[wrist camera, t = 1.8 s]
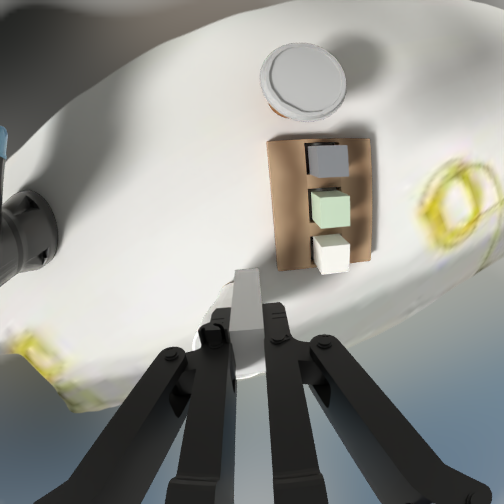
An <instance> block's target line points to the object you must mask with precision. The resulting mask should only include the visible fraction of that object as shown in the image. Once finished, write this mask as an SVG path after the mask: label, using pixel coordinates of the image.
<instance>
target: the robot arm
mask: <svg viewBox="0 0 504 504" xmlns="http://www.w3.org/2000/svg"><path fill="white" fill-rule="evenodd" d="M7 139H8V134H7V131H6V129H5V128H4V127H3V126H1V125H0V287H1V286H2V285H3V284H4V283H6V282H7V281H8V280H10V279H11V278H12V277H13V276H15V275H16V274H18V273H22V272H28V271H33V270H38V269H40V268H42V267H43V266H45V265H46V264H48V263H49V262H50V261H51V260H52V258H53V257H54V255H55V252H56V249H57V243H58V232H57V225H56V221H55V218H54V215H53V212H52V210H51V208H50V206H49V205H48V203H47V202H46V201H45V199H44V198H43V197H42V196H40V195H39V194H38V193H36V192H34V191H29V190H26V191H22V192H19V193H16V194H14V195H13V196H11V197H10V198H9V199H8V200H7V201H6V202H5V203H4V204H3V205H2V194H3V179H4V168H5V160H6V159H7V157H6V147H7ZM198 334H199V338H200V342H201V348H199V349H197V350H194V351H191V352H187V353H185V351H184V350H183V349H182V348H179V347H169V348H166V349H164V350H162V351H161V352H160V353H159V354H158V356H157V357H156V358H155V360H154V361H153V362H152V364H151V365H150V367H149V368H148V369H147V371H146V372H145V373H144V375H143V376H142V377H141V379H140V380H139V382H138V383H137V384H136V386H135V387H134V388H133V390H132V391H131V392H130V394H129V395H128V397H127V398H126V399H125V401H124V402H123V403H122V405H121V406H120V408H119V409H118V410H117V412H116V413H115V415H114V416H113V417H112V419H111V420H110V422H109V423H108V424H107V426H106V427H105V428H104V430H103V431H102V433H101V434H100V436H99V437H98V438H97V440H96V441H95V442H94V444H93V445H92V447H91V448H90V450H89V451H88V452H87V454H86V455H85V457H84V458H83V460H82V461H81V462H80V464H79V465H78V467H77V468H76V470H75V471H74V473H73V474H72V475H71V477H70V478H69V480H67V481H66V482H64V483H63V484H61V485H60V486H59V487H57V488H56V489H54V490H53V491H51V492H50V493H48V494H46V495H45V496H44V497H42V498H40V499H39V500H37V501H36V502H34V504H141V502H142V500H143V498H144V497H145V494H146V493H147V491H148V489H149V487H150V485H151V483H152V482H153V480H154V478H155V476H156V474H157V472H158V470H159V468H160V466H161V464H162V463H163V461H164V459H165V457H166V455H167V453H168V451H169V449H170V447H171V445H172V443H173V441H174V439H175V438H176V436H177V433H178V432H179V429H180V428H181V426H182V424H183V422H184V420H185V418H186V416H187V420H186V424H185V430H184V435H183V441H182V447H181V452H180V459H179V464H178V470H177V474H176V477H174V478H172V479H171V480H170V481H169V484H168V488H167V494H166V499H165V504H234V466H235V429H236V426H235V425H236V397H237V380H236V373H237V375H238V374H254V373H266V378H267V394H268V408H269V421H270V438H271V453H272V467H273V489H274V504H328V498H327V493H326V487H325V482H324V478H323V475H322V474H321V473H320V470H319V466H318V460H317V455H316V450H315V444H314V439H313V434H312V429H311V423H310V419H309V414H308V408H307V403H306V398H305V394H304V388H303V384H308V385H309V388H310V389H311V391H312V393H313V395H314V396H315V397H316V399H317V401H318V403H319V404H320V406H321V408H322V409H323V411H324V413H325V414H326V416H327V418H328V419H329V421H330V423H331V424H332V426H333V427H334V429H335V431H336V432H337V434H338V435H339V437H340V439H341V440H342V442H343V444H344V445H345V447H346V449H347V450H348V452H349V453H350V455H351V457H352V458H353V459H354V461H355V463H356V465H357V466H358V468H359V469H360V471H361V472H362V474H363V475H364V477H365V479H366V480H367V482H368V483H369V485H370V487H371V488H372V490H373V491H374V493H375V494H376V496H377V498H378V499H379V501H380V502H381V503H382V504H490V503H491V501H492V493H491V490H490V488H489V487H488V486H486V485H485V484H483V483H481V482H479V481H477V480H475V479H473V478H471V477H469V476H466V475H464V474H463V473H461V472H459V471H457V470H455V469H453V468H451V467H449V466H447V465H445V464H444V463H443V462H442V461H441V459H440V458H439V457H438V456H437V455H436V454H435V452H434V451H433V450H432V449H431V448H430V446H429V445H428V444H427V443H426V442H425V441H424V439H423V438H422V437H421V436H420V435H419V434H418V432H417V431H416V430H415V429H414V428H413V426H412V425H411V424H410V423H409V422H408V420H407V419H406V418H405V417H404V416H403V415H402V413H401V412H400V411H399V410H398V409H397V408H396V406H395V405H394V404H393V403H392V402H391V401H390V399H389V398H388V397H387V396H386V395H385V394H384V392H383V391H382V390H381V389H380V388H379V386H378V385H377V384H376V383H375V382H374V381H373V379H372V378H371V377H370V376H369V375H368V374H367V373H366V371H365V370H364V369H363V368H362V367H361V366H360V364H359V363H358V362H357V361H356V360H355V359H354V357H353V356H352V355H351V354H350V353H349V352H348V351H347V349H346V348H345V347H344V346H343V345H342V344H341V342H340V341H339V340H338V339H337V338H335V337H334V336H331V335H325V334H323V335H318V336H316V337H314V338H313V339H312V340H311V341H310V342H303V341H299V340H296V339H294V338H293V337H292V335H291V334H290V330H289V325H288V320H287V316H286V311H285V307H284V306H283V305H282V304H281V303H280V302H277V303H266V304H262V298H261V288H260V277H259V268H253V269H242V270H235V276H234V286H233V295H232V305H231V307H227V308H216V309H215V310H214V311H213V313H212V315H211V320H210V322H209V323H206V324H204V325H202V326H201V327H200V328H199V329H198Z"/></svg>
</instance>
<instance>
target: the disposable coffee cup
mask: <svg viewBox="0 0 504 504" xmlns="http://www.w3.org/2000/svg"><path fill="white" fill-rule="evenodd" d="M260 86H261V89H262V92H263V94H264V97H265V98H266V100H267V101H268V103H269V106H270V107H271V109H272V110H273V111H274V112H275V113H276V114H278V115H280V116H282V117H285V118H290V119H293V120H297V121H303V122H314V121H318V120H322V119H325V118H327V117H329V116H331V115H332V114H333V113H335V112H336V111H337V110H338V109H339V107H340V106H341V105H342V103H343V101H344V98H345V95H346V86H347V85H346V77H345V73H344V71H343V68H342V66H341V65H340V63H339V62H338V60H337V59H336V58H335V57H334V56H333V55H332V54H331V53H329V52H328V51H327V50H325V49H323V48H321V47H319V46H316V45H313V44H308V43H291V44H287V45H283V46H281V47H279V48H277V49H275V50H274V51H273V52H272V53H271V54H269V55H268V56H267V58H266V59H265V61H264V62H263V65H262V67H261V71H260Z"/></svg>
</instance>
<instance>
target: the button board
mask: <svg viewBox="0 0 504 504" xmlns="http://www.w3.org/2000/svg"><path fill="white" fill-rule="evenodd" d="M318 142H334V145H347V148H348V163H349V177H327V178H318V177H315V176H313V175H310V173H307V172H306V159H305V147H304V143H318ZM266 144H267V154H268V164H269V175H270V186H271V197H272V209H273V220H274V233H275V245H276V259H277V268H278V271H287V270H296V269H305V268H314V267H317V266H316V264H315V262H314V259H312V260H311V251H310V236H320V235H331V234H340V235H341V236H342V237H343V238H344V239H345V240H346V241H347V242H348V243H349V244H350V263H356V262H364V261H370V260H371V240H372V166H371V147H370V139H363V138H330V139H300V140H282V141H269V142H266ZM329 187H337V190H338V191H340V192H343V193H345V194H347V195H349V196H350V226H346V227H335V228H324V229H321V228H320V227H319V226H318V225H317V224H316V223H315V222H314V220H313V219H311V220H309V203H308V189H313V188H329Z"/></svg>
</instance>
